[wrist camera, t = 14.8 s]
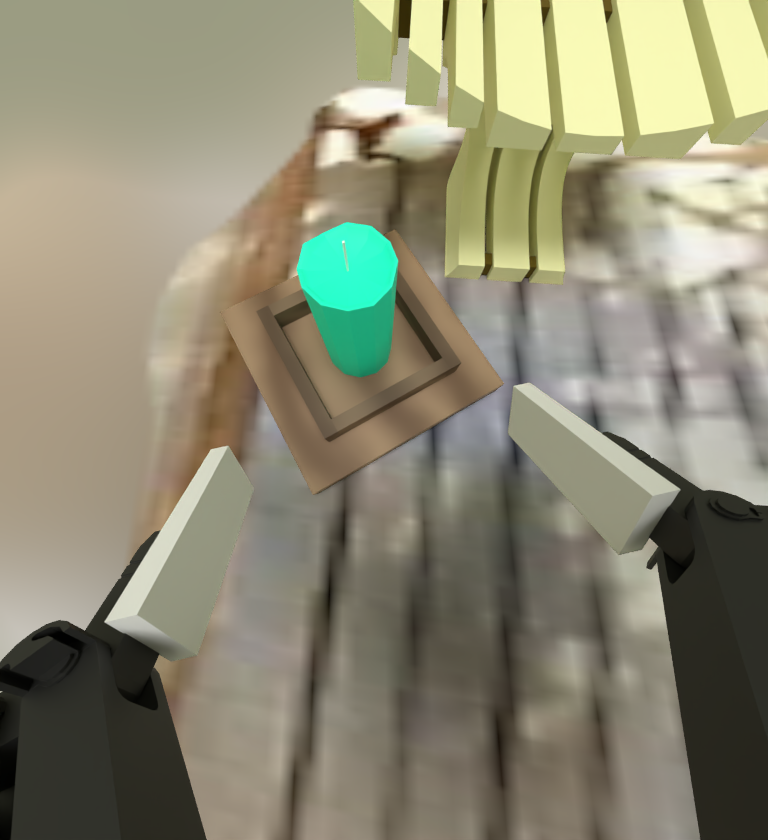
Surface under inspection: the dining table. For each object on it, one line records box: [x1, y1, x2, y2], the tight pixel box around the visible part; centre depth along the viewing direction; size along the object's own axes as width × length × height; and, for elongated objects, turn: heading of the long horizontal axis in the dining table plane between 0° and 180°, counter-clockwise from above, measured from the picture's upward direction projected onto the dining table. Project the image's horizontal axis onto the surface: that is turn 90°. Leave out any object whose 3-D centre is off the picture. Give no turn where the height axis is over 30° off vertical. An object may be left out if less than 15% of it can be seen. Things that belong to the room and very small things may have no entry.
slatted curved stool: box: [353, 0, 768, 285], centre depth 23 cm, size 30×16×18 cm, turn 86°
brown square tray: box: [220, 229, 504, 495], centre depth 26 cm, size 20×20×4 cm
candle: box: [297, 222, 398, 378], centre depth 20 cm, size 6×6×12 cm
